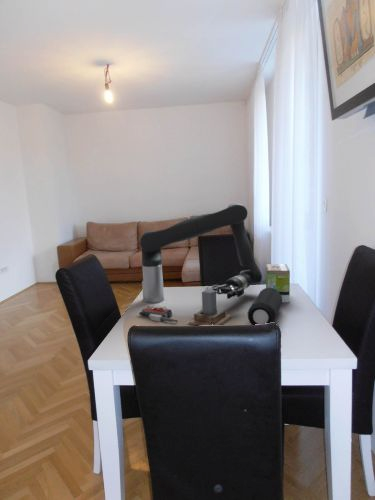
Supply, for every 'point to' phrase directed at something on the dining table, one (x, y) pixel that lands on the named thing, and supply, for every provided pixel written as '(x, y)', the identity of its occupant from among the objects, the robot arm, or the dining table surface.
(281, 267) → the tea box
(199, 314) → the tray
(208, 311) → the connector plug
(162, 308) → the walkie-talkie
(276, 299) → the portable speaker
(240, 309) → the dining table surface
